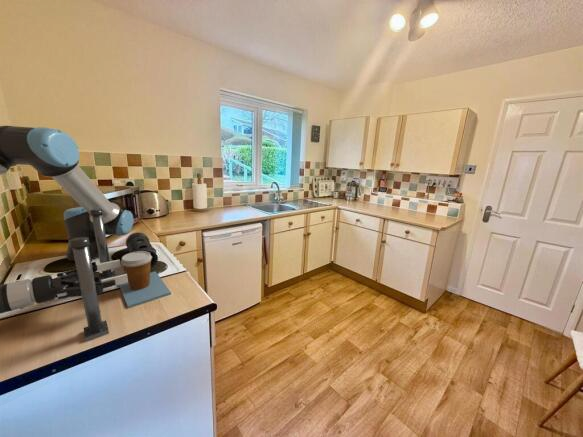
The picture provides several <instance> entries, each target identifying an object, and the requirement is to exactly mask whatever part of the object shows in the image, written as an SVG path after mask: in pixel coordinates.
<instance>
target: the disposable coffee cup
mask: <svg viewBox="0 0 583 437" xmlns="http://www.w3.org/2000/svg"><path fill="white" fill-rule="evenodd" d="M151 259H152V256H151V255H150V253H149V252H146V251H138V252H132V253H126V254H124V255H123V256H121V260H120V265H122V266H123V269H124V272H125V273H124V274H127V277H128V283H129V286H130V289H132V290H140V289H143V288H146V287H147V286H149V284H150V273H151V269H150V266H151Z"/></svg>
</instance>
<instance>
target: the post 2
mask: <svg viewBox="0 0 583 437" xmlns="http://www.w3.org/2000/svg"><path fill="white" fill-rule="evenodd" d="M90 213H91V215H92V219H93V224H94V230H95V236H96V242H97V248H98V254H99V257H98V259H99V264H100V263H105V262H110V261H111V259H110V254H109V247H108V242H107V235H106V234H105V228H104V222H103V215H102V214H103V210H102V209H94V210H90ZM97 276H98V281H99V282H102V281H101V280H103V279H107V278H111V277H116V273H115V270H112V269H110V270H105V271H101V273H98V275H97Z"/></svg>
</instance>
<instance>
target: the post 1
mask: <svg viewBox="0 0 583 437" xmlns="http://www.w3.org/2000/svg"><path fill="white" fill-rule="evenodd" d="M69 242H70V247H71V248H73V253H74V258H75V261H74V262H75V263H74V264H75V268H77V273H78V278H79V283H80V289H81V294H82V296H81V297H82V299H81V300H82V303H83V308H84V314H85V318H86V323H87V326H85V327H83V334H84V342H85V343H86V342H90V341H92V340H95V339H98V338H100V337H103V336H105V335H108V334H110V331H109V330H110V329H109V326H108V323H107V320H106V319H105V320H103V319H102V315H101V309H100V303H99V297H98V294H97V291H96V286H95V282H96V281H95V280H96V279H95V276H94V273H93V269H92V259H91V258H90V252H89V247H88V245H89V238H88V237H79V238H74V239H71V240H70V241H69V240H68V243H69Z"/></svg>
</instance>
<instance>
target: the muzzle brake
mask: <svg viewBox="0 0 583 437" xmlns="http://www.w3.org/2000/svg"><path fill="white" fill-rule="evenodd" d="M125 245H126V248H127V250H128V252H129V253H132V252H138V251H146V252H149V253H150V255H151V256H152V259H151V266H150V270H151V269H152V268H154V267H156V265H157V263H158V260H159V257H158V254H157V252H156V251H155V249H154V248H153V245H152V243H151V242H150V239H149V237H148V236H147V235H146V234H145V233H142V232H138V231H137V232H133V233H131V234H129V235H128V236H127V238H126V240H125ZM129 253H128V254H129Z"/></svg>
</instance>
